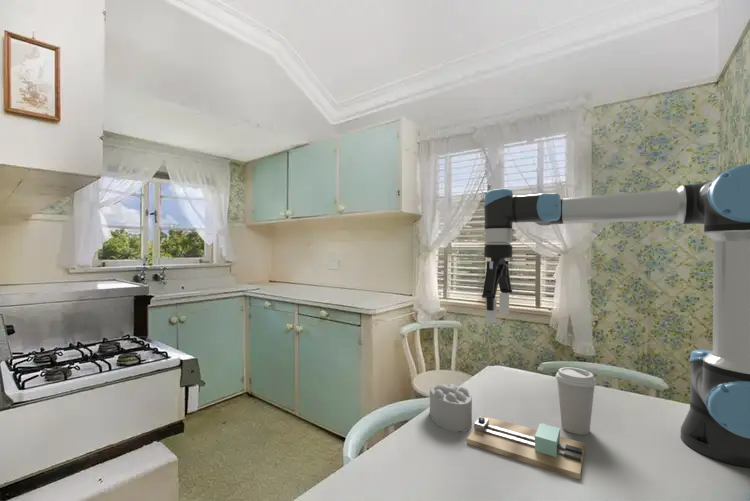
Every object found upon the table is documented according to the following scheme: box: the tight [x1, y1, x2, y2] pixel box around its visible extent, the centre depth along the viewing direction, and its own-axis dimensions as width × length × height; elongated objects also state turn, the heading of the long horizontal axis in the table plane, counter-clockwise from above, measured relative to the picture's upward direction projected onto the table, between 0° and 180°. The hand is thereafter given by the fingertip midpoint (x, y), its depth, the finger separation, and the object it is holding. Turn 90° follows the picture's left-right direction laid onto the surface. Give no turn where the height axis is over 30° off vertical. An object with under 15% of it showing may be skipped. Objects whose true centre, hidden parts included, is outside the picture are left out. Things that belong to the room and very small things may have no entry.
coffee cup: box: [554, 366, 598, 436], centre depth 93 cm, size 10×10×15 cm
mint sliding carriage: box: [535, 422, 561, 457], centre depth 82 cm, size 4×7×4 cm, turn 146°
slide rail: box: [473, 416, 582, 462], centre depth 84 cm, size 24×4×2 cm, turn 56°
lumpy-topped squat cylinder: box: [429, 383, 473, 432], centre depth 97 cm, size 10×13×9 cm
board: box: [466, 415, 585, 480], centre depth 84 cm, size 24×14×1 cm, turn 56°
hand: (497, 318), depth 100 cm, fingers open, 13 cm apart
